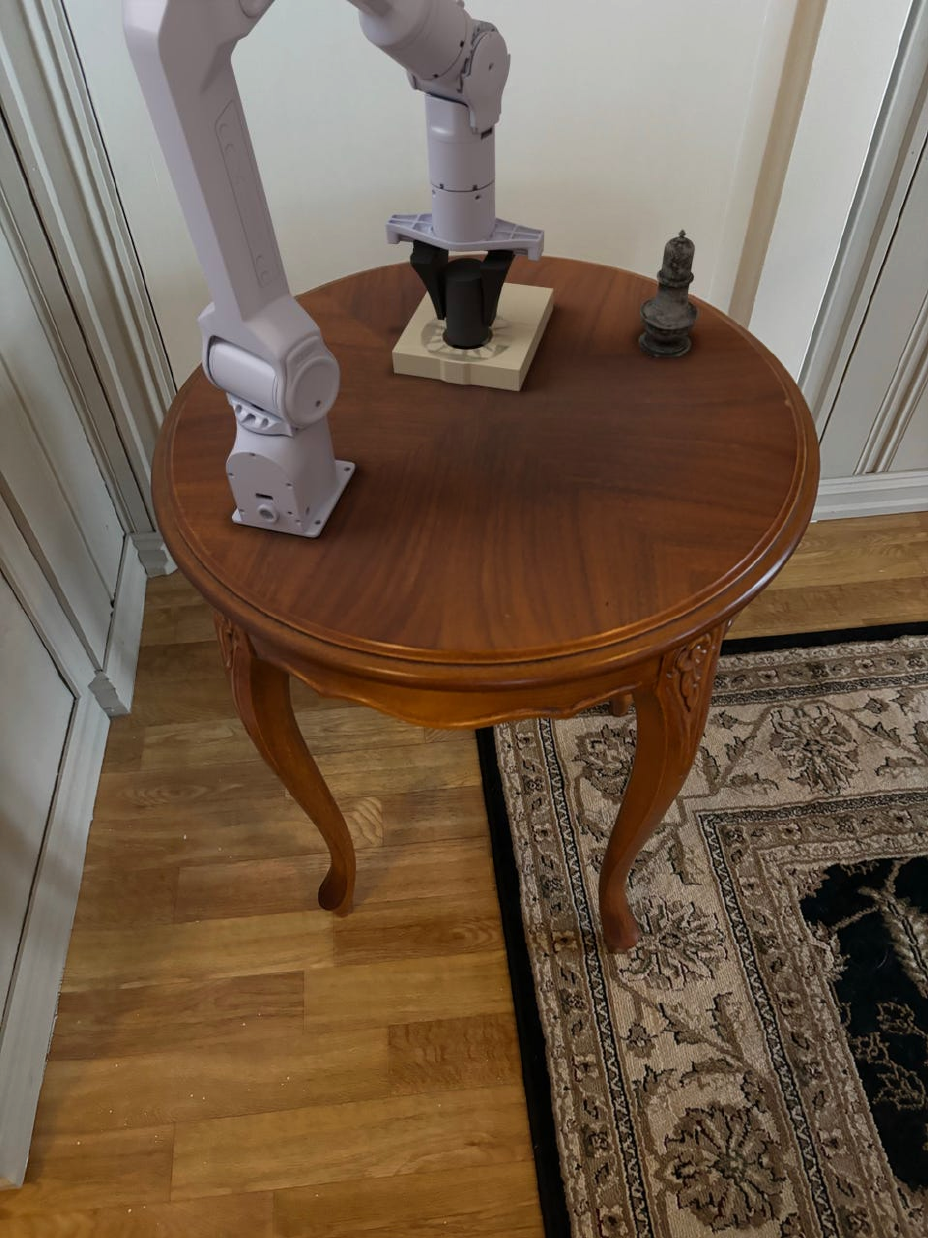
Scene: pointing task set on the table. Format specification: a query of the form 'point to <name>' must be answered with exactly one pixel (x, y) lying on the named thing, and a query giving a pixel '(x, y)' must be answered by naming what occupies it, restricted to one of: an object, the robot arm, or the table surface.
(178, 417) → the table surface
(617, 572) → the table surface
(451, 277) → the dark grey cylinder
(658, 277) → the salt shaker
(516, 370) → the back plate
